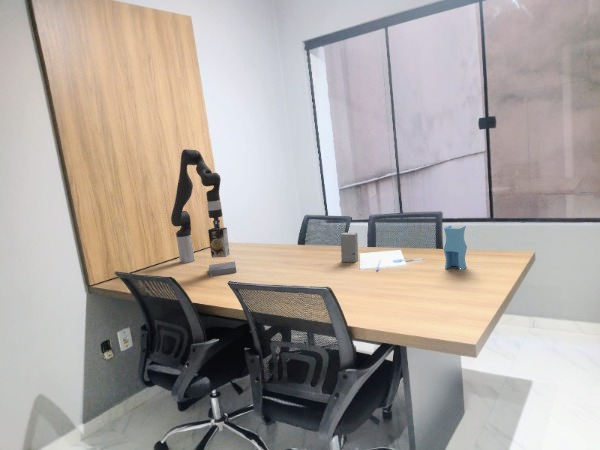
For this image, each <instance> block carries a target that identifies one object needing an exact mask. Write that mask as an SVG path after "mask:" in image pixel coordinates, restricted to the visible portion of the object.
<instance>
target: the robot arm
mask: <svg viewBox="0 0 600 450" xmlns="http://www.w3.org/2000/svg"><path fill="white" fill-rule="evenodd" d="M179 165H180V166H179V167H180V168H179V175H178V181H177V187H176V194H175V200H174V203H173V208H172V212H171V215H170V216H171V217H170V220H171V221H170V222H171V225H172V226H173V227H175V228H177V227H180V229H178V230H177V231H176V233H175V235H176V236H175V237H176V242H177V249H178V250H177V251H178V255H179V262H180V264H185V263H192V262H194V261H195V253H194V246H193V239H192V234H191V233H192V224H191V221H192V220H191V216H190V213H189V212H188V211H187V210H184V207H185V206H186V204H187V203H188V201H189V200H190V199H191V197H192V195H193V189H194V188H193V187H194V185H193V181H192V179H191V177H190V175H189V172H188V166H196V167H195V170H196V171H195V172H196V173H197V175H198V176H199V177H200V181H201V184H202V186H204V187H213V188H212V189H210V190H207V191H206V202H207V204H206V205H207V212H208V218H209V219H213V220H212V226H213V228H214V229H215V232H216V238H217V239H219V238H220V229H219V228H221V220H220V219H219V218H222V217H223V210H222V202H221V199H220V187H221V186H220V185H221V181H222V180H221V176H220V174H219V173H217V172H212V170H211V168H209V167H208V166H209V165H207V164H206V162H205V159H204V157H203V156H202V154H201V152H200V151H199V150H196V149H185V148H184V149H183V150H182V152H181V155H180V164H179ZM217 228H218V229H217Z"/></svg>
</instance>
